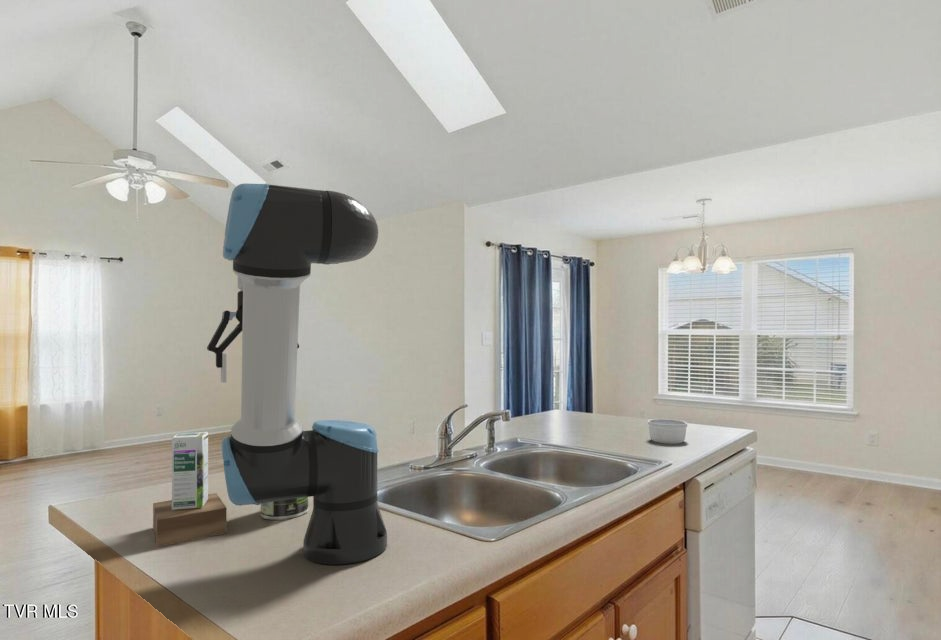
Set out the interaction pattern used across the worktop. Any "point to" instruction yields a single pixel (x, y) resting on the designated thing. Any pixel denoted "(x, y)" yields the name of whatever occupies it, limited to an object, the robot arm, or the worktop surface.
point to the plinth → (188, 521)
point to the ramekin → (667, 430)
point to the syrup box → (189, 470)
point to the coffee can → (284, 509)
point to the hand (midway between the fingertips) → (254, 380)
